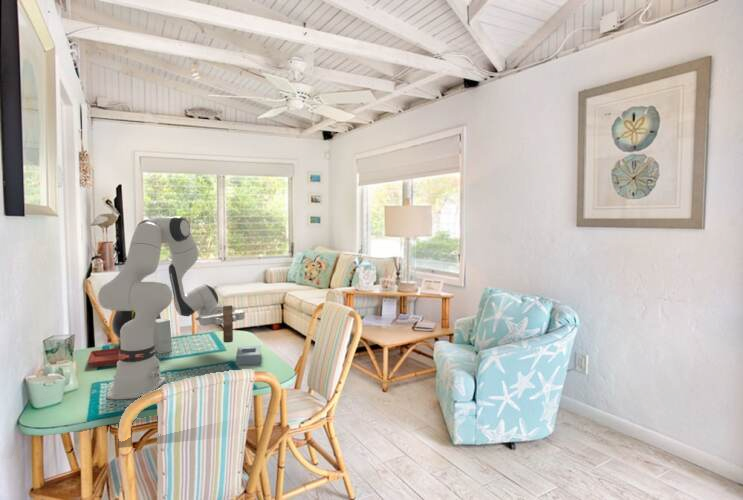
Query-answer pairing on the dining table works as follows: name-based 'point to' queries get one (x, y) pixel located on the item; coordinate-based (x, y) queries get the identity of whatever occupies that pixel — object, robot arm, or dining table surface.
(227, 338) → the walnut dowel
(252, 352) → the socket block
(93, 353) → the plant saucer
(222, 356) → the dining table surface
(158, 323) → the skincare box
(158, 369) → the robot arm
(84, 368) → the dining table surface
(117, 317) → the amphora vase
